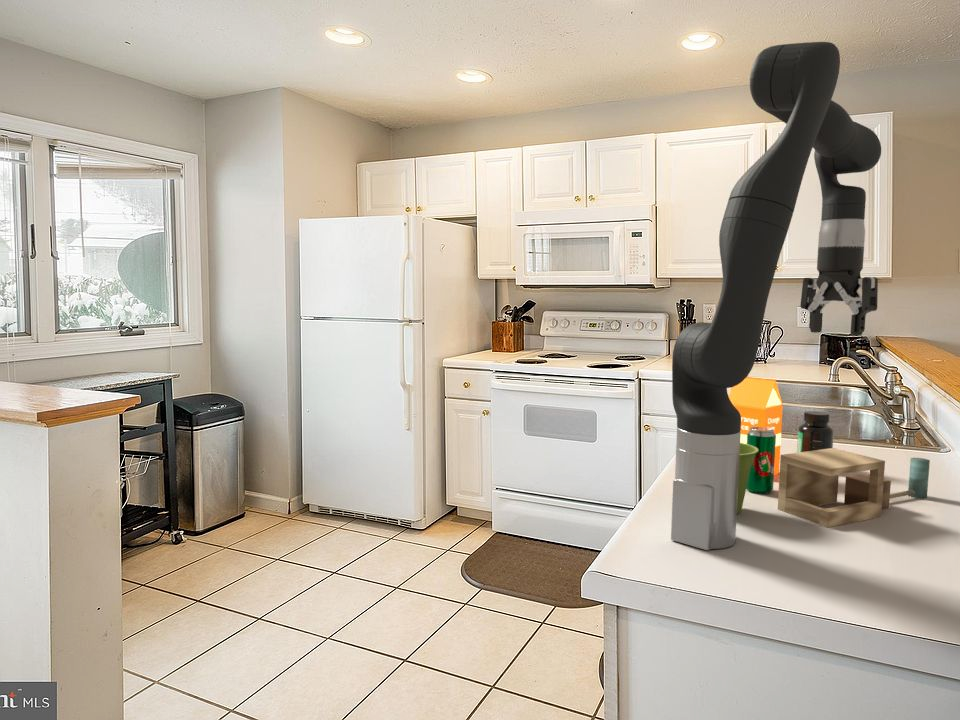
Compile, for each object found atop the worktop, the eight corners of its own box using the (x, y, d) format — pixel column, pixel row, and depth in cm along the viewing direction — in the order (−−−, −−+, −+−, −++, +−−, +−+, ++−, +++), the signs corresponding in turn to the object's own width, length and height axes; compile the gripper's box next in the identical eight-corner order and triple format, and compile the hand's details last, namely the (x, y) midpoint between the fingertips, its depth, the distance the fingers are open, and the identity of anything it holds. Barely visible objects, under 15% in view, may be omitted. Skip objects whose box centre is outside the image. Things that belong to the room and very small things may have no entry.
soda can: (749, 485, 135) (752, 425, 134) (776, 490, 132) (779, 428, 131) (740, 491, 131) (743, 429, 130) (768, 496, 128) (771, 432, 127)
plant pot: (767, 509, 121) (770, 446, 119) (735, 526, 112) (739, 458, 111) (704, 494, 129) (706, 435, 128) (670, 509, 121) (673, 445, 119)
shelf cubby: (827, 527, 112) (830, 468, 111) (777, 509, 121) (780, 454, 120) (881, 516, 117) (885, 460, 116) (829, 499, 126) (833, 447, 125)
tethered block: (869, 512, 120) (872, 472, 119) (844, 503, 124) (846, 465, 123) (936, 499, 127) (938, 461, 126) (909, 491, 132) (912, 455, 131)
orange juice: (761, 479, 139) (766, 381, 137) (721, 470, 146) (725, 377, 144) (779, 473, 144) (784, 378, 142) (740, 464, 151) (744, 373, 149)
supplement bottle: (793, 469, 147) (797, 413, 146) (798, 462, 153) (801, 409, 152) (829, 473, 144) (833, 417, 142) (832, 466, 150) (836, 412, 148)
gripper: (891, 244, 122) (885, 336, 123) (821, 247, 135) (816, 331, 136) (862, 243, 119) (856, 337, 120) (794, 246, 131) (789, 331, 133)
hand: (835, 333), depth 128 cm, fingers open, 8 cm apart
